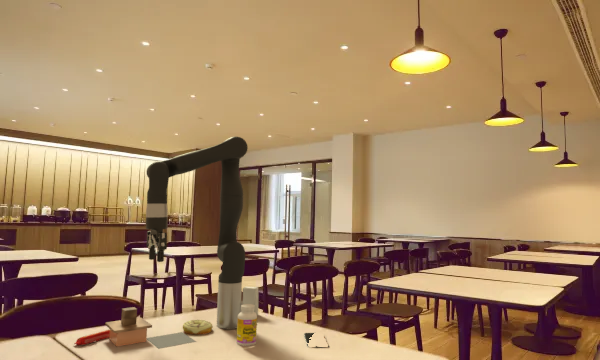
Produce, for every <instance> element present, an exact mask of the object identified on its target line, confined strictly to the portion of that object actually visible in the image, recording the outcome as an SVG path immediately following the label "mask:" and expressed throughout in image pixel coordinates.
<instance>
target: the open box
mask: <svg viewBox="0 0 600 360" xmlns="http://www.w3.org/2000/svg"><path fill="white" fill-rule="evenodd" d="M147 333H148V328H146V329H140V330H133V331H127V332H120V333H113V332H112V331H111V330H110V336H109V341H111V342H112V343H113V345H115V346H116V347H121V346H126V345H132V344H139V343H143V342H144V343H145V342H147V338H148V334H147Z"/></svg>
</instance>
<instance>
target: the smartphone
mask: <svg viewBox="0 0 600 360" xmlns="http://www.w3.org/2000/svg"><path fill="white" fill-rule="evenodd" d="M314 333H315V332H305V333H303V336H304V335H305V336H304V339H306V340H305V343H306V342H307V343H309V340H311V339H309V338H310V337H312V335H313V334H314ZM307 346H308V344H306V347H307Z"/></svg>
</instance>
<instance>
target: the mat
mask: <svg viewBox="0 0 600 360" xmlns="http://www.w3.org/2000/svg"><path fill="white" fill-rule="evenodd" d="M146 341H148V342H149V343H151V344H152V345H153V346H154V347H155V348H157V349H158V350H160V349H165V348H170V347H176V346H182V345H186V344H192V343H197V341H196V340H195V339H194V338H192V337H190V336H188V334H186V333H185V332H182V331H180V332H173V333H169V334H168V333H167V334H163V335H157V336H152V337H151V336H150V337H147V339H146Z"/></svg>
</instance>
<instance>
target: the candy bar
mask: <svg viewBox="0 0 600 360" xmlns="http://www.w3.org/2000/svg"><path fill="white" fill-rule="evenodd" d="M109 336H110V329H109V328H108V329H106V330H101V331H98V332H94V333H92V334H91V333H90V334H88V335H87V334H86V335H85V336H81V337H79V338H77V339H76V341H75V342H74V345H77V346H85V345H88V344H92V343H94V342H99V341H102V340H105V339H108V338H109Z"/></svg>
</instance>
